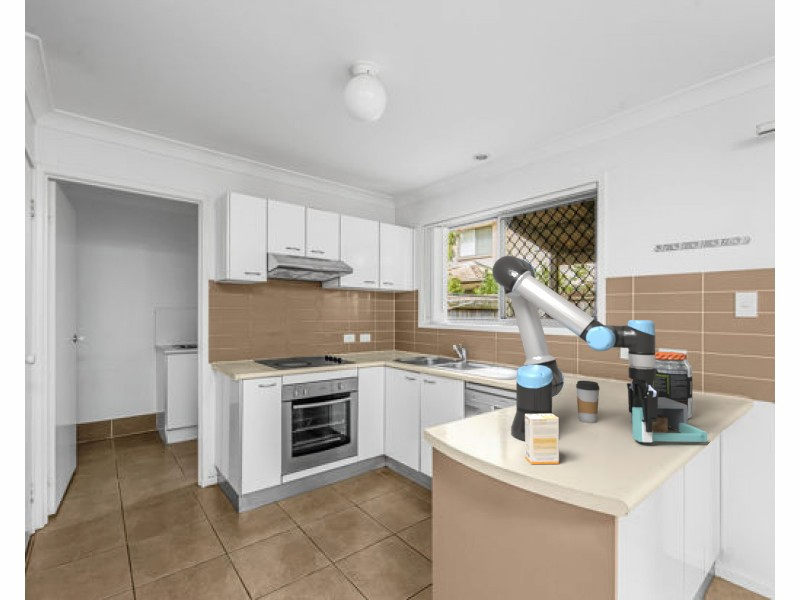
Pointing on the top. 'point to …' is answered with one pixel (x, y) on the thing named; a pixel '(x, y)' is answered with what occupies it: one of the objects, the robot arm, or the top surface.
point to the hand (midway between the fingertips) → (642, 439)
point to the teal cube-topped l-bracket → (686, 433)
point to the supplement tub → (674, 378)
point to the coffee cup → (587, 401)
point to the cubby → (672, 412)
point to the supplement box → (542, 438)
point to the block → (660, 424)
